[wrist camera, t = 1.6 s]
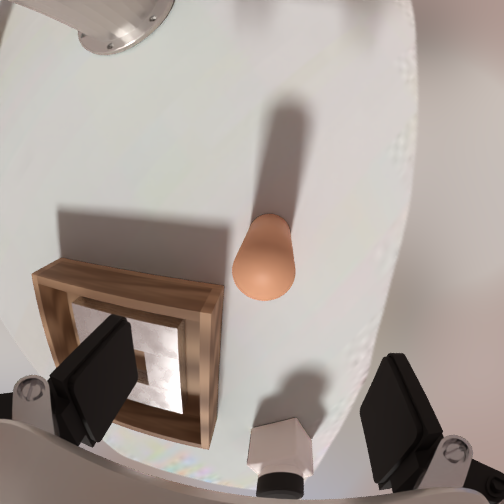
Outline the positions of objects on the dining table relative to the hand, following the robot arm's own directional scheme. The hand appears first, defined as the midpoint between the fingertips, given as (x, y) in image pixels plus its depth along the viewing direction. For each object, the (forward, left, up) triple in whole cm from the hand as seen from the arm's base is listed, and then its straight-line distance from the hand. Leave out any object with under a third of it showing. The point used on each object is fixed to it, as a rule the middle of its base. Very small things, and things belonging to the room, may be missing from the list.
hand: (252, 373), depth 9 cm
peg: (0, 0, -19) cm, 19 cm away
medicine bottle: (+30, +6, -19) cm, 36 cm away
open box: (+17, -15, -19) cm, 30 cm away
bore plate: (+17, -15, -19) cm, 30 cm away
